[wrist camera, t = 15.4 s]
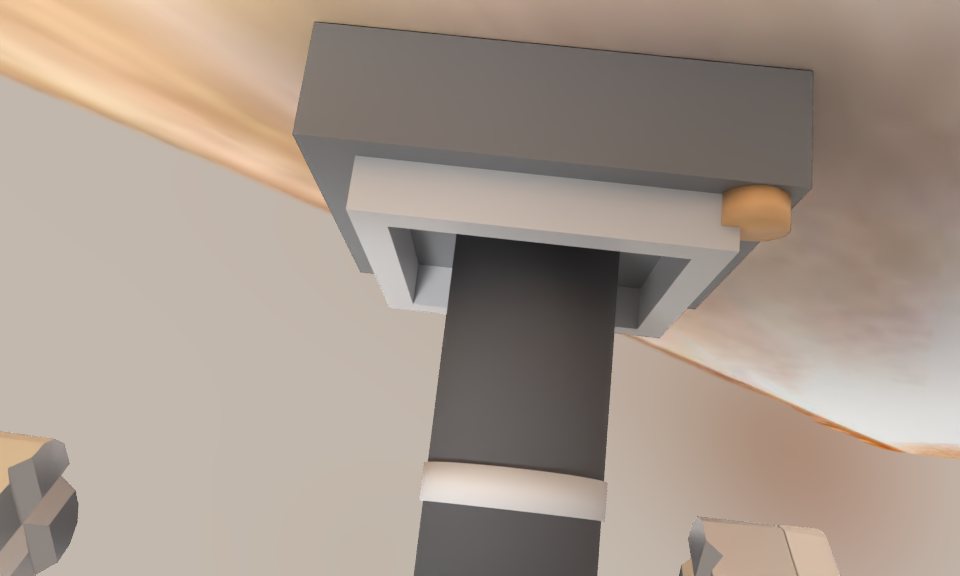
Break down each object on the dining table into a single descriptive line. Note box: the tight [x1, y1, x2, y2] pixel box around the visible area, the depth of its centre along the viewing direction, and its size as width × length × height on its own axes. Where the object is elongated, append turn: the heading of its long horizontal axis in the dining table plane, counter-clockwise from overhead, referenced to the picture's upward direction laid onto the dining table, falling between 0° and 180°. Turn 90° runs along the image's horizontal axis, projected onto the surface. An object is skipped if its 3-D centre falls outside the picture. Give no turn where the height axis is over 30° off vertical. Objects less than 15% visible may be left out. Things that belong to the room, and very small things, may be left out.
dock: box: [292, 22, 813, 338], centre depth 25 cm, size 12×11×4 cm
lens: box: [414, 234, 620, 576], centre depth 23 cm, size 5×5×10 cm
